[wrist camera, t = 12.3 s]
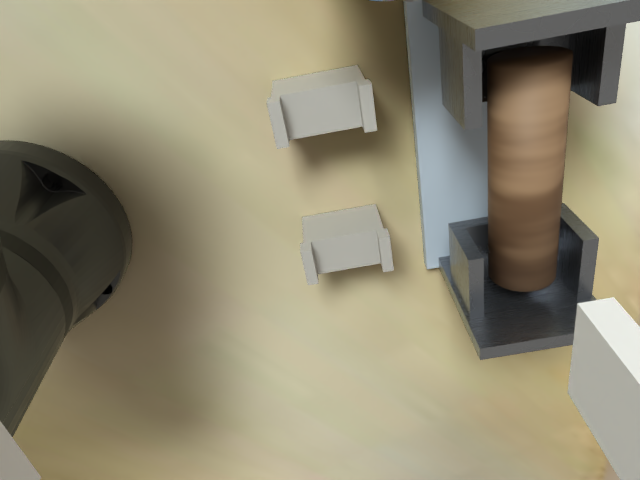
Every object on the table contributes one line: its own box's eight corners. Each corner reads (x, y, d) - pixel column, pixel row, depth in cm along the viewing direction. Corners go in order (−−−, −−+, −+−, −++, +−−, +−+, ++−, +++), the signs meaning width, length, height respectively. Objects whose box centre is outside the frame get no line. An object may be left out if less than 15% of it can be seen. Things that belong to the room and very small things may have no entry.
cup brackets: (435, 260, 45) (480, 359, 35) (418, -3, 34) (474, 29, 24) (540, 242, 45) (616, 337, 34) (556, -29, 34) (673, -9, 24)
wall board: (424, 262, 45) (427, 269, 44) (403, 0, 34) (406, 2, 33) (552, 240, 45) (557, 246, 44) (572, -32, 34) (579, -31, 33)
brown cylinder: (539, 249, 39) (567, 285, 35) (479, 260, 39) (501, 296, 35) (551, 41, 31) (588, 57, 27) (476, 55, 31) (503, 73, 28)
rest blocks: (305, 248, 44) (307, 285, 39) (269, 81, 37) (266, 103, 32) (382, 235, 43) (393, 270, 39) (361, 64, 36) (371, 83, 32)
